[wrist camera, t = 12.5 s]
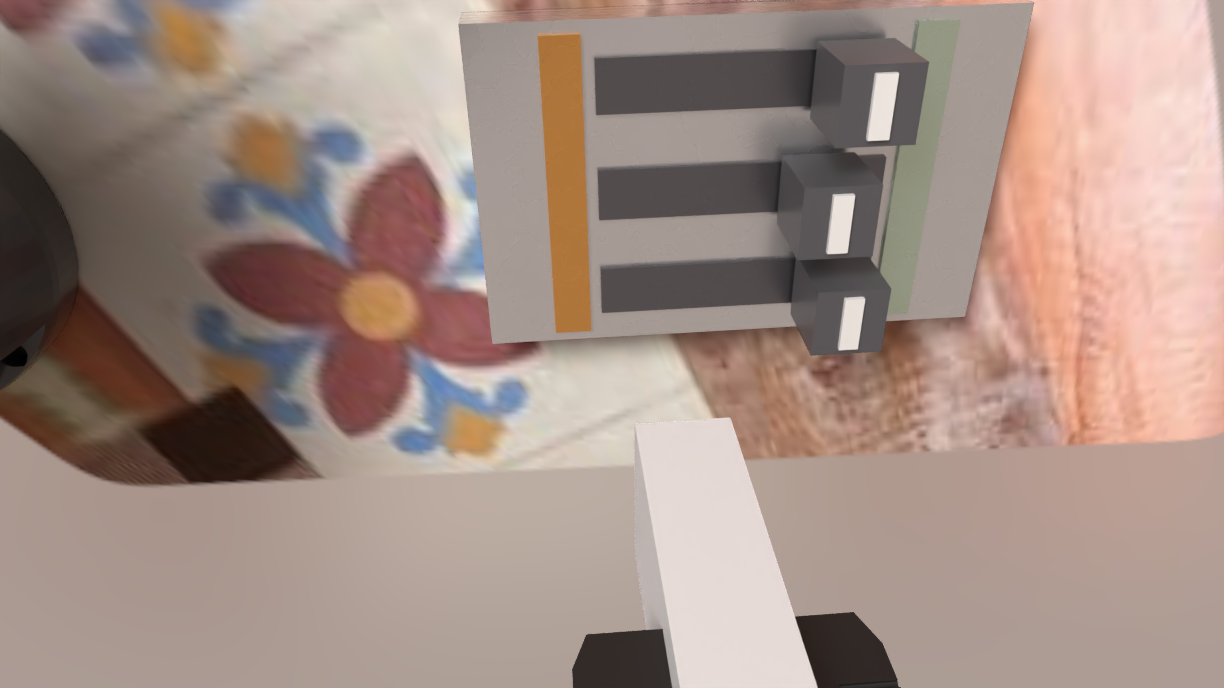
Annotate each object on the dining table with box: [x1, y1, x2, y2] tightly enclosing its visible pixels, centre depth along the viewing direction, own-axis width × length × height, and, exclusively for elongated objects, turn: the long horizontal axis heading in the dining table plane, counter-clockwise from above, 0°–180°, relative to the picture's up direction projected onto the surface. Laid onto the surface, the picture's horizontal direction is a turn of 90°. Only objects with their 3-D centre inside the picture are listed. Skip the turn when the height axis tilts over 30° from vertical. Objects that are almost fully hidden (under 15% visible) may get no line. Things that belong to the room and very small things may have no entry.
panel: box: [459, 0, 1034, 344], centre depth 38 cm, size 22×14×2 cm, turn 91°
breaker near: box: [810, 38, 929, 149], centre depth 33 cm, size 3×3×4 cm
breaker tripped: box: [777, 152, 883, 260], centre depth 36 cm, size 3×3×4 cm
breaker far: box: [790, 257, 891, 355], centre depth 38 cm, size 3×3×4 cm
